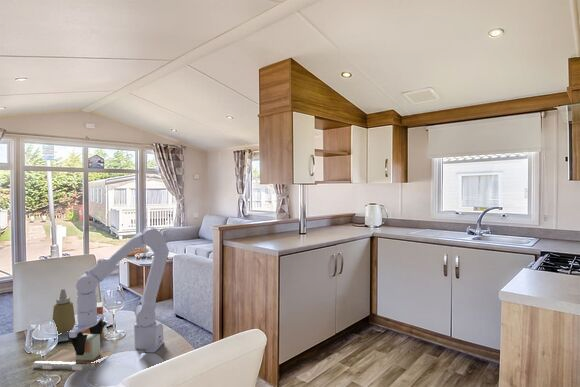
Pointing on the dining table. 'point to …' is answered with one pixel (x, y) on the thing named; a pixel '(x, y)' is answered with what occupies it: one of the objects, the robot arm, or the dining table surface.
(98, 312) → the small box
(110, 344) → the dining table surface
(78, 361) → the shelf board
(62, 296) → the squeeze bottle
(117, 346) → the dining table surface
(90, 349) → the carton
